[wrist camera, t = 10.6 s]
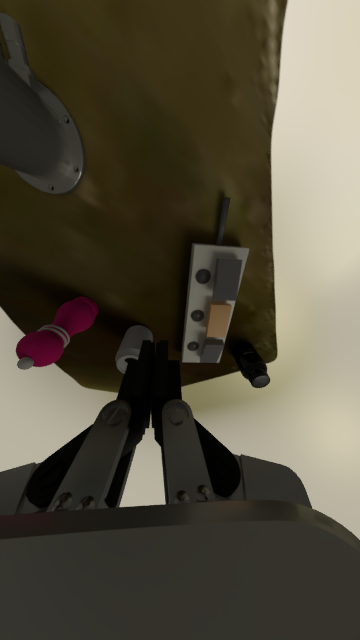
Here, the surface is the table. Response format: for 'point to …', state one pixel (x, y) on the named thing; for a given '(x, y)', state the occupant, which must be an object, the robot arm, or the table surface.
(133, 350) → the can
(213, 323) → the rocker
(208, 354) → the block
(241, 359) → the supplement bottle
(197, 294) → the power strip
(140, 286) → the table surface
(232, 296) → the block
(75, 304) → the pepper mill
